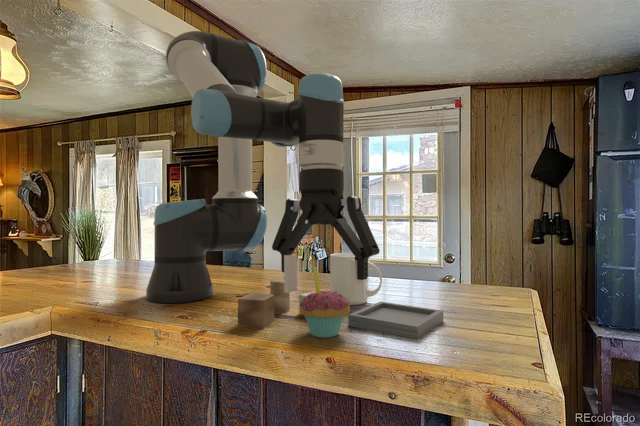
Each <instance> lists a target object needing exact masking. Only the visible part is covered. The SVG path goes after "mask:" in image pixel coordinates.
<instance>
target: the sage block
mask: <svg viewBox="0 0 640 426" xmlns="http://www.w3.org/2000/svg"><path fill="white" fill-rule="evenodd" d="M314 292H315V291H313V292H305V293H302V294H301V293H299V295H298V297H299V298H298V299H299V300H298V301H299V302H298V303H299V304H298V305H299V306H298V307H299V311H298V313H300V302H301V301H302V300H303V299H304V297H305V296H307V295H309V294H311V293H314ZM300 315H302V316H304V314H301V313H300Z"/></svg>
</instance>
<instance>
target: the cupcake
mask: <svg viewBox="0 0 640 426" xmlns="http://www.w3.org/2000/svg"><path fill="white" fill-rule="evenodd" d="M312 266H313V267H312V271H313V278H314V280H313V281H314V286H315V291H313V292H314V293H311V292H310V293H311V294H309V295H307V296H305V297H304V299H303V300H302V301H301V302H300V313H301V314H300V315H302V314H304V315H303V316H304V318H305V320H306V323H307V325H308V326H307V327H308V330H309V333H310V335H312V336H313V337H317V338H323V339H325V338H326V339H327V338H334V337H336V336H338V335H339V333H340V329H341V326H342V323H343V320H344V318H345V317H346V316H348V315H349V314H351V313H350V312H351V307H350V306H351V305H349V302H348V300H347V299H346V298H345V297H343V296H342V295H341V294H339V293H336V292H331V291H330V290H321V288H320V281H319V274H318V268H317V267H316V266H315V263H314V262H313V263H312Z"/></svg>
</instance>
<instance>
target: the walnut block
mask: <svg viewBox="0 0 640 426" xmlns="http://www.w3.org/2000/svg"><path fill="white" fill-rule="evenodd" d="M273 322H275V312H274V295H270V294H269V293H268V294H266V293H265V294H264V293H252V292H251V293H248V294H246V295H243V296H241V297H239V298H237V327H244V328H253V329H266V327H268V326H270V325H271V324H273Z"/></svg>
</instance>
